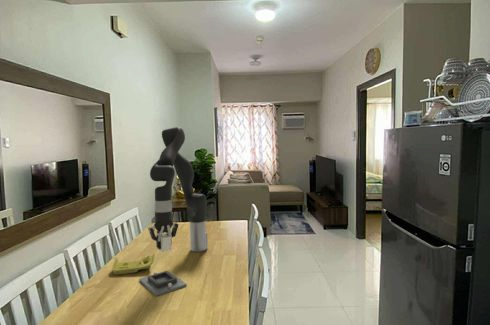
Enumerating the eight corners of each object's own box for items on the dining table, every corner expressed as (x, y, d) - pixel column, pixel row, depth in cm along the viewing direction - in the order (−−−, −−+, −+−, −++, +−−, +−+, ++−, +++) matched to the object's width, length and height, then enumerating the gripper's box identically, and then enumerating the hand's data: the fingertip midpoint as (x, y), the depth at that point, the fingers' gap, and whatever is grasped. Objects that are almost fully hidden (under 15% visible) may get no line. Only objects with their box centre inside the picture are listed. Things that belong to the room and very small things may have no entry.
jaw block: (165, 246, 139) (165, 233, 139) (171, 249, 134) (171, 236, 134) (157, 248, 136) (157, 235, 136) (162, 251, 132) (162, 238, 131)
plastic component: (111, 271, 144) (116, 255, 153) (114, 281, 148) (119, 265, 156) (153, 265, 146) (155, 250, 155) (155, 276, 150) (158, 260, 158)
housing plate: (167, 272, 147) (167, 266, 147) (186, 286, 132) (186, 279, 132) (139, 280, 138) (139, 275, 138) (155, 296, 123) (155, 289, 123)
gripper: (174, 206, 142) (174, 242, 143) (144, 210, 133) (145, 249, 134) (181, 209, 136) (182, 246, 137) (151, 213, 127) (152, 253, 128)
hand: (164, 247), depth 135 cm, fingers closed on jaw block, 4 cm apart
